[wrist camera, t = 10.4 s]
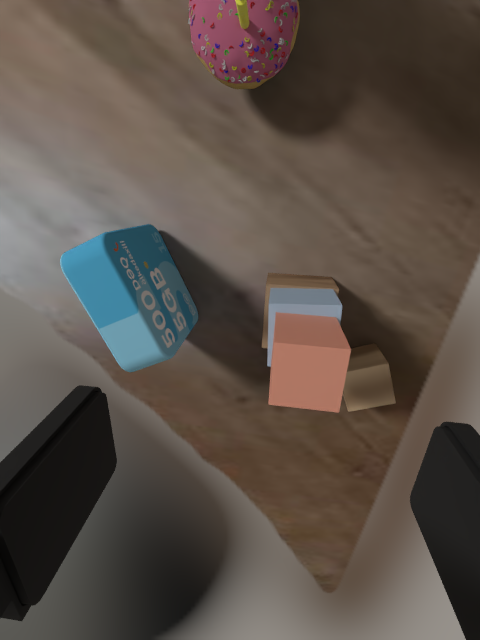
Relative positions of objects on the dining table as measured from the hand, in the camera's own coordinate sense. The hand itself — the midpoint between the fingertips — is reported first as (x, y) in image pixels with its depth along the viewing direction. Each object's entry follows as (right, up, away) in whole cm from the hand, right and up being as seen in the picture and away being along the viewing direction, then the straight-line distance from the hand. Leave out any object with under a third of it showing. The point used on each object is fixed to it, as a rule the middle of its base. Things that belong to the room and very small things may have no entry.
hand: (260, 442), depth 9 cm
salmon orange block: (+5, +2, +18) cm, 19 cm away
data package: (-10, +9, +28) cm, 31 cm away
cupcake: (0, +28, +19) cm, 34 cm away
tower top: (+5, +4, +23) cm, 24 cm away
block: (+14, -2, +29) cm, 32 cm away
